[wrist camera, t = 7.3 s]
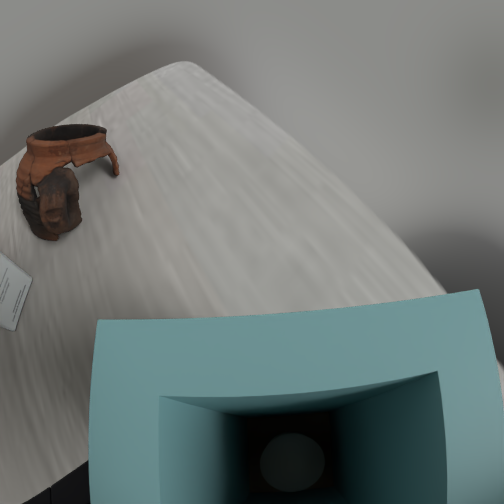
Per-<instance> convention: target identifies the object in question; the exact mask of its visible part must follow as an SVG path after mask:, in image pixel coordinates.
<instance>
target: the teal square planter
mask: <svg viewBox="0 0 504 504" xmlns="http://www.w3.org/2000/svg"><path fill="white" fill-rule="evenodd" d="M321 412H329V414H330V428H331V443H332V461H333V485H334V486H333V487H326V488H318V489H308V490H301V491H296V492H286V491H284V492H261V493H250V491H249V465H248V438H247V418H253V417H274V416H289V415H301V414H311V413H321ZM89 485H90V501H91V504H504V410H503V401H502V393H501V386H500V379H499V373H498V367H497V362H496V356H495V351H494V347H493V342H492V338H491V333H490V329H489V325H488V320H487V316H486V313H485V309H484V305H483V302H482V298H481V295H480V291H479V289H475V290H470V291H464V292H458V293H453V294H445V295H439V296H432V297H426V298H419V299H412V300H404V301H397V302H389V303H381V304H373V305H364V306H355V307H346V308H336V309H326V310H315V311H304V312H292V313H279V314H265V315H250V316H233V317H212V318H186V319H141V320H98V321H97V329H96V337H95V345H94V354H93V364H92V376H91V389H90V406H89Z"/></svg>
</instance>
